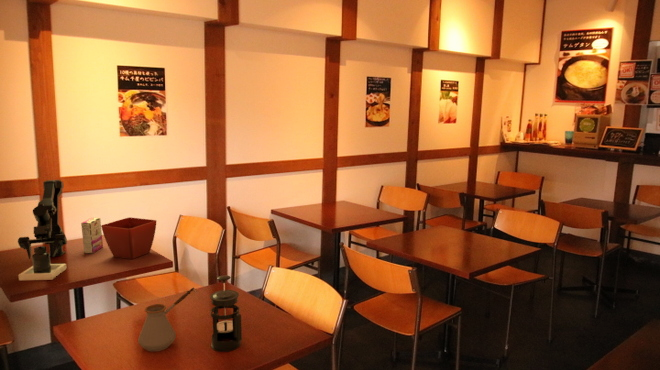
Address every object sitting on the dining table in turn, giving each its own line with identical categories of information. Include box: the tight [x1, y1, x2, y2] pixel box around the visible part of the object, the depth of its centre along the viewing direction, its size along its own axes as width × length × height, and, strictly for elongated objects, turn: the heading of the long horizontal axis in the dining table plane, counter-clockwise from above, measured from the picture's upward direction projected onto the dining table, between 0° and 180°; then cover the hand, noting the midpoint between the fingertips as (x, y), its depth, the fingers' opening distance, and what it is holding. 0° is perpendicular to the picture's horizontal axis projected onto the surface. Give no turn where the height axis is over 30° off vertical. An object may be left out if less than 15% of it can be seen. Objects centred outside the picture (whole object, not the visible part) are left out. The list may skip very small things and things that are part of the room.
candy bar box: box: [80, 217, 104, 254], centre depth 255 cm, size 11×5×16 cm, turn 179°
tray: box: [18, 263, 68, 281], centre depth 220 cm, size 14×14×2 cm
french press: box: [209, 274, 243, 353], centre depth 155 cm, size 12×9×23 cm
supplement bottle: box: [31, 245, 52, 273], centre depth 219 cm, size 7×7×12 cm
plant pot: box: [101, 217, 157, 260], centre depth 248 cm, size 19×19×17 cm
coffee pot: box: [137, 287, 198, 352], centre depth 159 cm, size 21×12×15 cm, turn 143°
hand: (41, 257), depth 218 cm, fingers open, 9 cm apart
